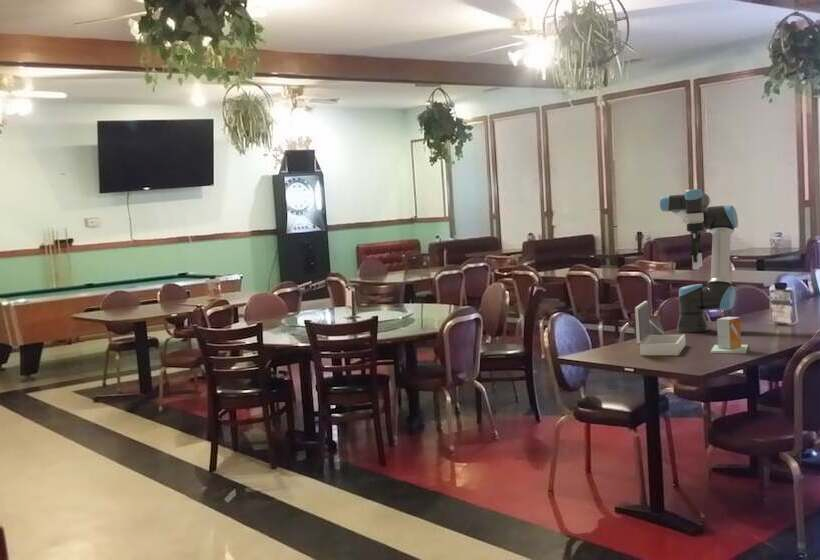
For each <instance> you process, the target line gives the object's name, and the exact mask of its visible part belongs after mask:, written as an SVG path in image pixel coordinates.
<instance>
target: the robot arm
mask: <svg viewBox="0 0 820 560" xmlns="http://www.w3.org/2000/svg"><path fill="white" fill-rule="evenodd" d="M710 203H711V198H710V196H709V195H708V194H707V193H704V192H703V191H702V189H701V188H693V189H686V190H685V191H684V194H673V195H672V194H671V195H664V196H661V198H660V200H659V208H660V210H661V211H662V212H666V213H667V212H671V213H673V214H674V215H676V216H677V217H679V218H680V219H682V221H683V222H684V224H686V231H687V232H692V233H691V234H690V238H691V246H690V247H691V248H690V249H691V252H690V253H689V254H690V256H691V259H692V260H691V261H692V262H691V263H692V270H693V271H694V270H700V268H702V267H703V256H702V255H703V253H704V250H703V249H702V247H703V246H702V237H701V236H702V235H701V232H703V231H704V230H706V231H707V230H709V233H710V234H711V235H712V240H711V241H712V243H711V264H710V265H711V267H710V280H708V282H707V283H706V285H707V286H703V284H702V283H697V284H690V285H686V286H682V287H680V288H679V289H678V303H679V319H678V322H677V324H676V325H677V327H676V331H677V332H678V333H679V332H680V333H703V332H708V331H709V324H708V322H707V319H706V317H705V311H725V310H726V311H728V310H731V309H732V308H733V307H734V304H735V301H736V295H737V294H736V288H735V286H733V283H732V282H731V281H730V261H731V260H730V259H731V257H730V256H731V237H732V236H731V235H733V234H734V232H735V229H737V228H738V226H739V220H738V214H737V211H736V208H735V207H734V205H725V204H724V205H715V206H710Z"/></svg>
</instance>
